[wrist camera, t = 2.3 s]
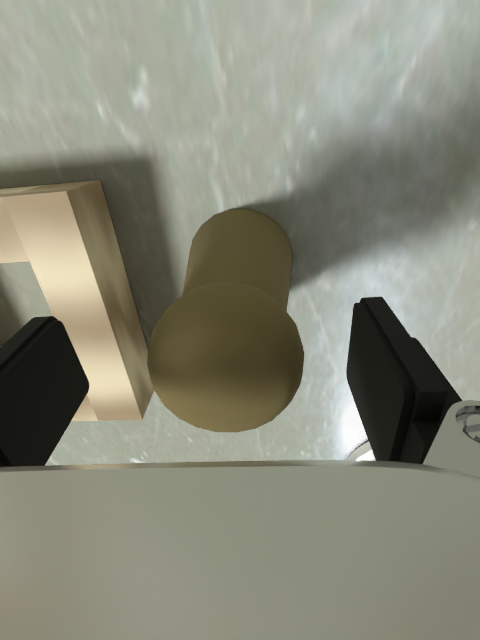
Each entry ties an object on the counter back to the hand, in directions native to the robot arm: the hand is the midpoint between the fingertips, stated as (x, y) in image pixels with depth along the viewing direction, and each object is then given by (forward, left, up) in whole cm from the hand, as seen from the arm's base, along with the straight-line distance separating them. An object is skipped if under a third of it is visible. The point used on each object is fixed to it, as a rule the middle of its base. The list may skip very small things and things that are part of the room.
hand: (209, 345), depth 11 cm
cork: (-1, 0, -10) cm, 10 cm away
